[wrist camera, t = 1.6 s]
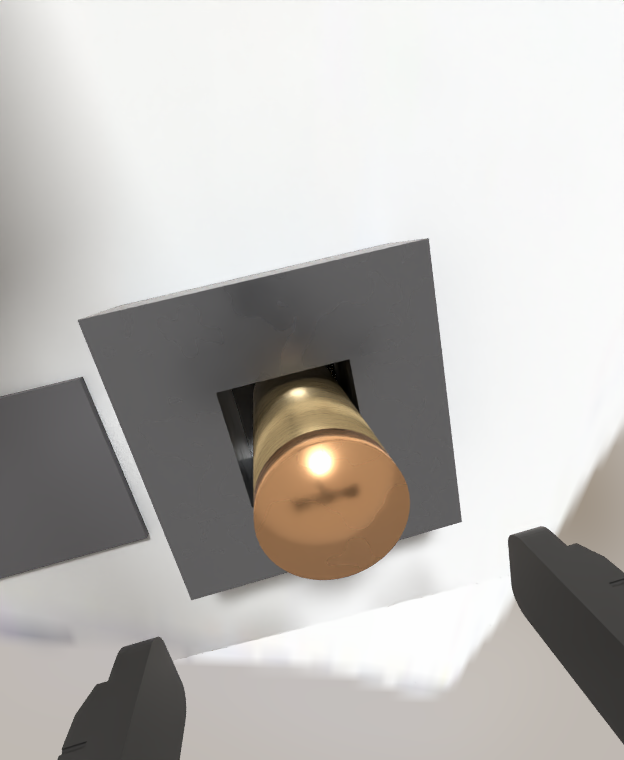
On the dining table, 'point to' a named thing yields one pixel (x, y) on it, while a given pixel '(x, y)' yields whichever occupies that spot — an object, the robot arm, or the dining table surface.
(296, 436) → the brass cylinder
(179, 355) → the housing
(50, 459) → the mat
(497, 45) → the dining table surface
